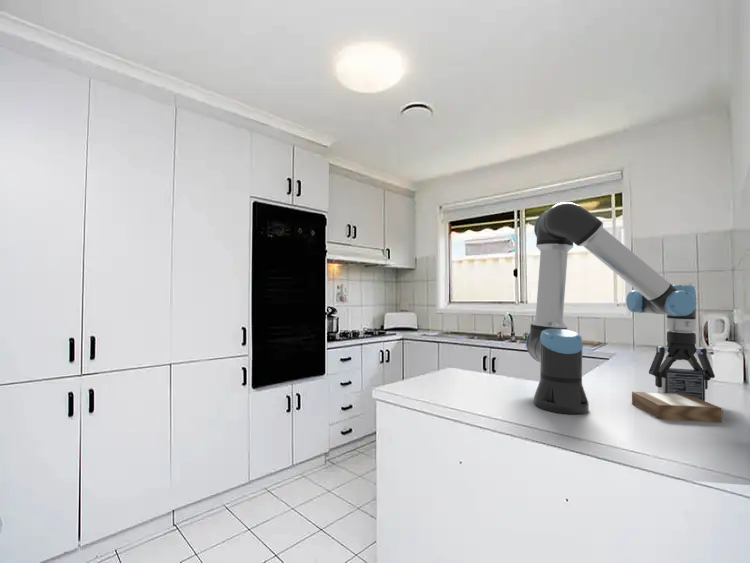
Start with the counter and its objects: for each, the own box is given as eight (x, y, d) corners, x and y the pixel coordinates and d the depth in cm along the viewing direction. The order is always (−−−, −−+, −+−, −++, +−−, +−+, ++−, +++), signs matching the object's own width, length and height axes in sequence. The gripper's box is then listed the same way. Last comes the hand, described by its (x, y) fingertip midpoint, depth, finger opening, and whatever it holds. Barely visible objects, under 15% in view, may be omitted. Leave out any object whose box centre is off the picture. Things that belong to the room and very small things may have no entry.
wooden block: (658, 418, 107) (658, 404, 107) (632, 404, 121) (632, 391, 121) (721, 422, 105) (721, 407, 105) (687, 406, 119) (686, 393, 119)
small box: (696, 400, 126) (696, 368, 126) (705, 406, 120) (705, 372, 120) (658, 397, 129) (658, 366, 130) (666, 402, 123) (666, 370, 123)
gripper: (649, 331, 123) (649, 399, 122) (729, 333, 120) (730, 403, 119) (636, 329, 130) (636, 393, 130) (711, 331, 127) (712, 396, 127)
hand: (681, 398), depth 125 cm, fingers closed on small box, 11 cm apart
